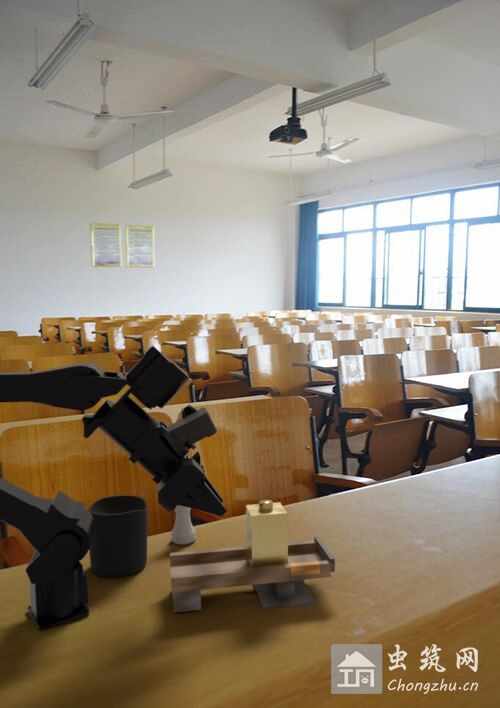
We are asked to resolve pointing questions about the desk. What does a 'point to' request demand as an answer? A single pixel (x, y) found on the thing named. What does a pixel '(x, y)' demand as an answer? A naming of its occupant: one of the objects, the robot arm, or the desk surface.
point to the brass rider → (266, 534)
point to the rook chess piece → (183, 527)
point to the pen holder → (118, 536)
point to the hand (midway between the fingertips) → (222, 508)
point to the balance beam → (249, 574)
